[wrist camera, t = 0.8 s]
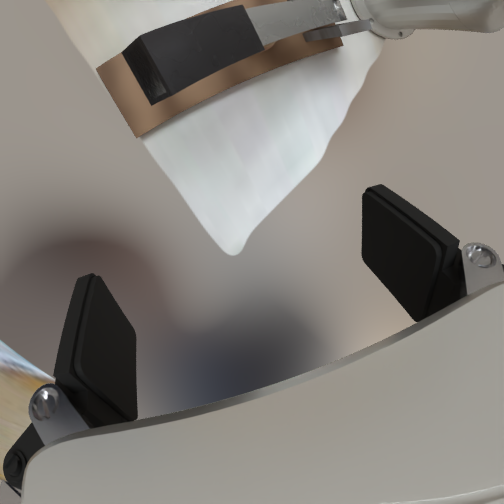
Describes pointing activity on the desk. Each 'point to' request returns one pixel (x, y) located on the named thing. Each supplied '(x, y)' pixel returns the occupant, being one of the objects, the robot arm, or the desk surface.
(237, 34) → the lever
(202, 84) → the press base
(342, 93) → the desk surface
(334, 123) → the desk surface
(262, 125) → the desk surface
